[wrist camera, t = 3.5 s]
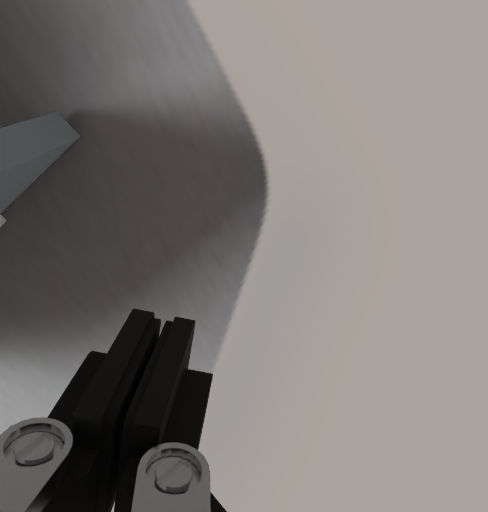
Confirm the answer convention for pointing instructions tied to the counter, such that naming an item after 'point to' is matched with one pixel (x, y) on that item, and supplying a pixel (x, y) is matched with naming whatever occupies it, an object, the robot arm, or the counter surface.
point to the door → (30, 153)
